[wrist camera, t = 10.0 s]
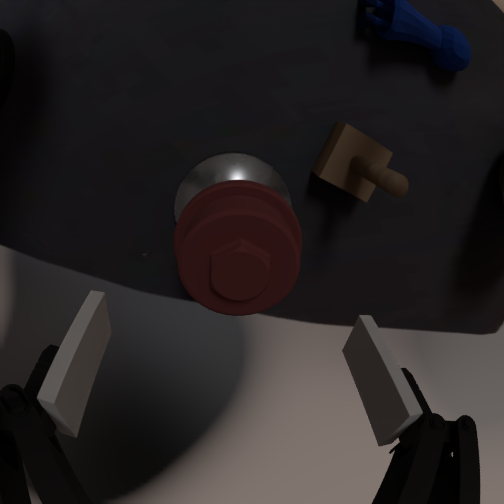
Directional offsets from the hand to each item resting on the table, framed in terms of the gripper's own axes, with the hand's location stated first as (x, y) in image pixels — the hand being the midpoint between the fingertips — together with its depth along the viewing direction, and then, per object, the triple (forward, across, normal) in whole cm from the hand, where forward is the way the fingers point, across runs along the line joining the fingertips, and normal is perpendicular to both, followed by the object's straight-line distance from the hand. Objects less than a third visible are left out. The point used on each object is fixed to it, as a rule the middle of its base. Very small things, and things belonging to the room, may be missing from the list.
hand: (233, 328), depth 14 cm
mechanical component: (+18, +1, 0) cm, 18 cm away
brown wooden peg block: (+19, +12, +7) cm, 23 cm away
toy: (+19, +17, +25) cm, 36 cm away
